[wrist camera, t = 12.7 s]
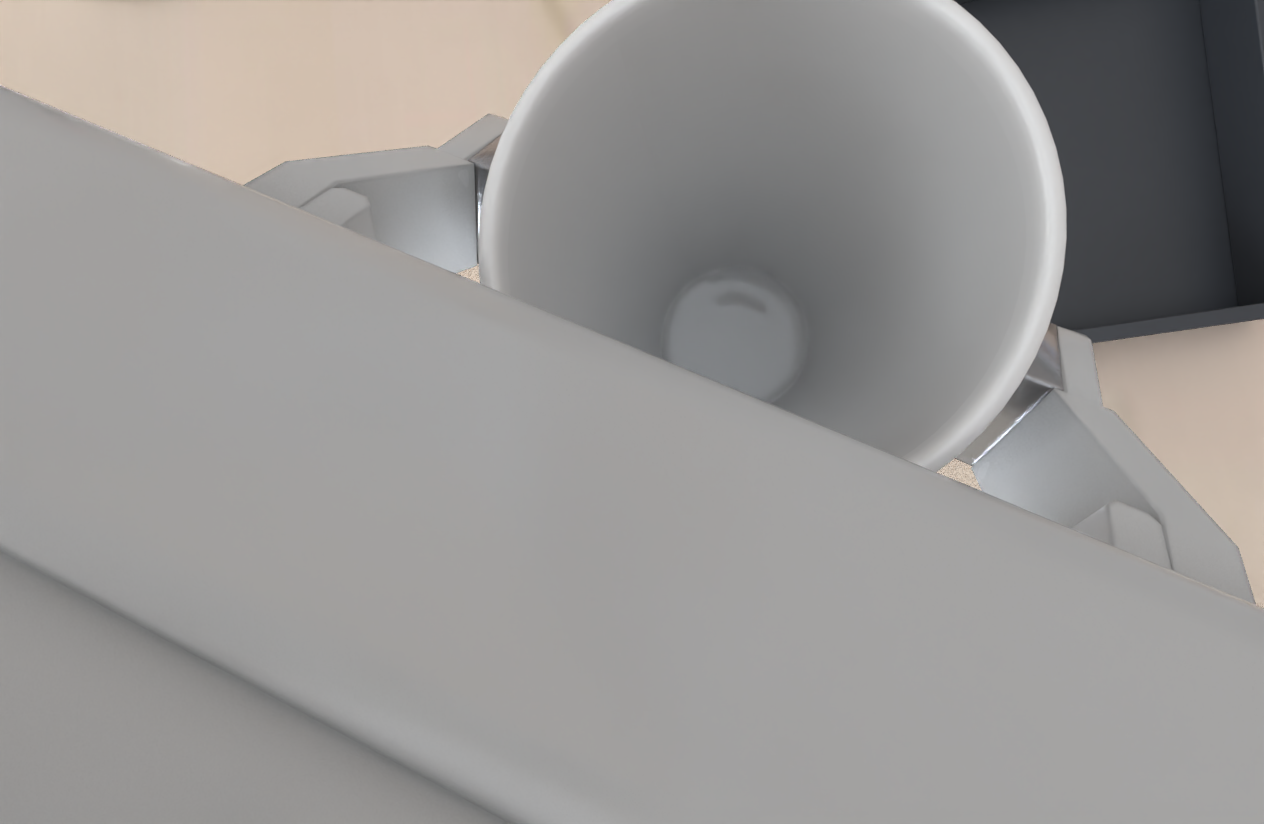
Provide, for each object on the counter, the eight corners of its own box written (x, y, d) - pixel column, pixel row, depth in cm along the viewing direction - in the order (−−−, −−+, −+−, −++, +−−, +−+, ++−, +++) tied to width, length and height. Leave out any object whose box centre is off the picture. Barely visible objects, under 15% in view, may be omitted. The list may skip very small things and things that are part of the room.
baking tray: (843, 19, 27) (856, -21, 25) (1203, -63, 25) (1259, -116, 23) (891, 370, 28) (909, 369, 25) (1251, 319, 25) (1313, 311, 23)
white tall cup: (660, 231, 22) (530, -104, 7) (853, 267, 21) (1161, -30, 6) (619, 416, 22) (416, 461, 8) (806, 460, 22) (992, 608, 7)
